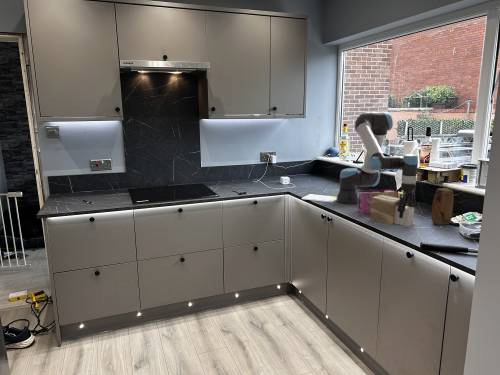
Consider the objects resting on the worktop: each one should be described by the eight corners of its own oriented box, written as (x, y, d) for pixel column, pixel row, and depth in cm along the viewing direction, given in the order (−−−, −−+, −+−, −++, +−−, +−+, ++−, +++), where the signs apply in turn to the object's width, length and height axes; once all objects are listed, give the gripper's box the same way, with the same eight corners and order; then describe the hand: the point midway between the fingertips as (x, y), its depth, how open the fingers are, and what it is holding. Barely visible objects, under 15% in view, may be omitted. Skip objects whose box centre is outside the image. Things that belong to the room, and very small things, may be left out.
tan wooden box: (379, 215, 229) (380, 194, 226) (401, 220, 219) (402, 198, 216) (370, 219, 222) (371, 197, 219) (392, 224, 212) (394, 201, 209)
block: (440, 220, 219) (443, 187, 215) (452, 223, 212) (456, 189, 208) (428, 223, 214) (431, 188, 209) (440, 226, 207) (444, 191, 203)
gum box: (360, 214, 233) (361, 193, 230) (355, 210, 241) (356, 190, 238) (396, 212, 236) (398, 191, 233) (390, 209, 243) (392, 189, 241)
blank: (383, 218, 225) (384, 202, 223) (412, 224, 212) (414, 207, 209) (378, 220, 221) (379, 203, 219) (408, 226, 208) (409, 209, 206)
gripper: (405, 186, 197) (402, 227, 201) (424, 181, 212) (420, 218, 216) (392, 184, 202) (389, 224, 207) (411, 179, 217) (408, 216, 221)
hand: (405, 221), depth 211 cm, fingers open, 10 cm apart
